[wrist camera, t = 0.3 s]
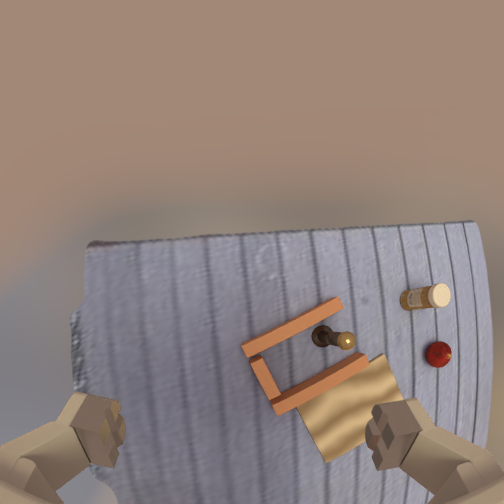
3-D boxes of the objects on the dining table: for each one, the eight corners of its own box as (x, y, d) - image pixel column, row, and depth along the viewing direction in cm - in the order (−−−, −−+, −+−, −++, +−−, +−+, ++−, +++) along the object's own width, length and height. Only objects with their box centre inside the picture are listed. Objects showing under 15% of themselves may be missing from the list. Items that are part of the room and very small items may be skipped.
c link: (274, 408, 58) (277, 416, 53) (240, 344, 60) (241, 346, 55) (360, 361, 60) (370, 364, 55) (330, 298, 63) (338, 296, 58)
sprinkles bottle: (413, 313, 63) (448, 310, 50) (396, 307, 63) (430, 303, 50) (418, 293, 64) (453, 287, 51) (402, 287, 64) (436, 279, 51)
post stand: (336, 340, 61) (367, 346, 45) (317, 350, 60) (343, 360, 45) (327, 321, 62) (355, 322, 46) (307, 331, 61) (331, 336, 45)
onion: (416, 361, 61) (436, 365, 53) (425, 337, 62) (445, 338, 54) (434, 368, 60) (454, 372, 53) (442, 345, 62) (463, 346, 54)
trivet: (405, 411, 58) (408, 412, 57) (324, 461, 55) (326, 463, 54) (381, 353, 61) (384, 354, 60) (294, 403, 58) (295, 405, 57)
